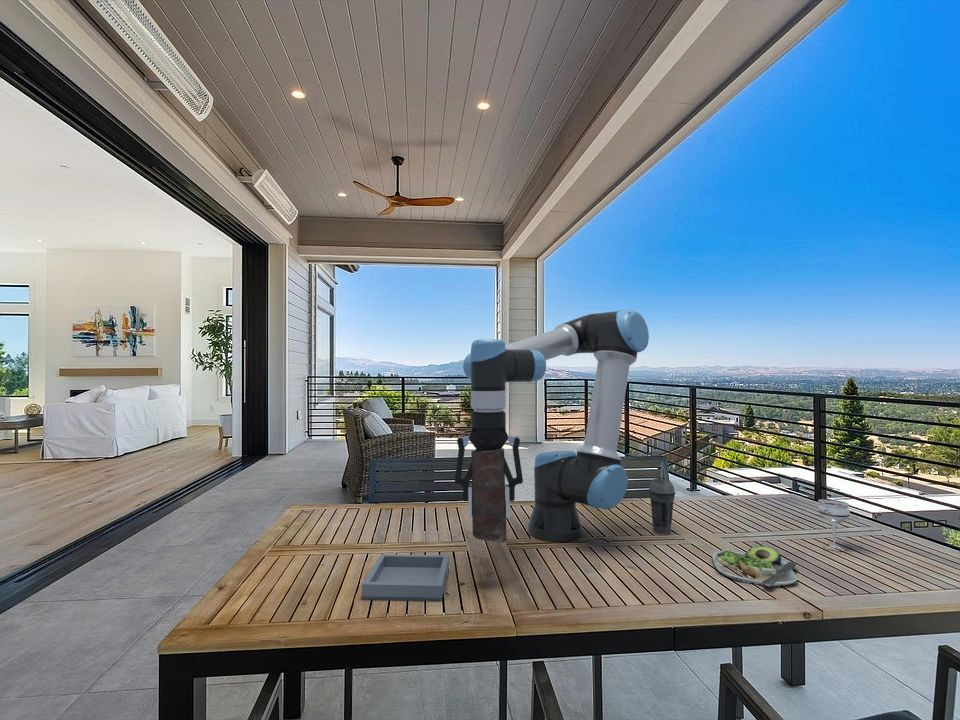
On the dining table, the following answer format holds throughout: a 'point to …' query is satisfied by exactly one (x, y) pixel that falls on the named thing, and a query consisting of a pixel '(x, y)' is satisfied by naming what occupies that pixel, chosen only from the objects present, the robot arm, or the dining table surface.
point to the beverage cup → (662, 504)
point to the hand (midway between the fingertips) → (489, 515)
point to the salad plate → (757, 566)
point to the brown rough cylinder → (488, 495)
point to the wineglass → (834, 513)
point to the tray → (407, 578)
